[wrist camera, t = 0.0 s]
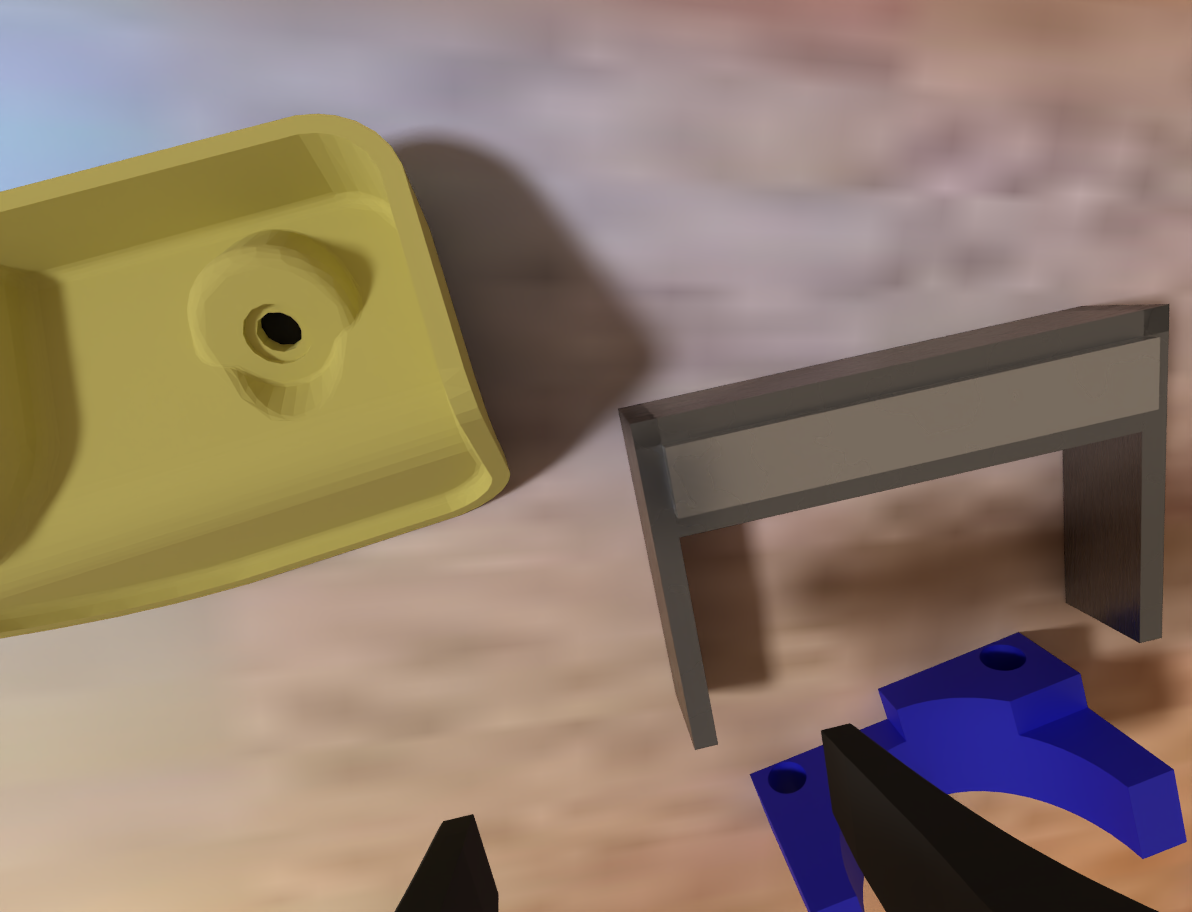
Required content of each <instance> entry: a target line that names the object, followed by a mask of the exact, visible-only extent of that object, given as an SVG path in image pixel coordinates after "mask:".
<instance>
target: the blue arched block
mask: <svg viewBox="0 0 1192 912" xmlns="http://www.w3.org/2000/svg"><path fill="white" fill-rule="evenodd" d="M878 691H879V694H880V697H881V700H882V703H883V706H884V709H885V712H886V715H887V719H886V720H883V721H881V722H878V723H876V724H874V725H871V726H869V727H866V728H864V729H861V730H860V731H861V732H863V733H864V734H865V735H867V736H868V737H869V738H871V739H872V740H873V741H875V742H876V743H877V744H878V745H880V746H881V747H882V748H884V749H885V750H886V751H888V752H889V753H890V754H892V755H893V756H894V757H896V758H897V759H898V760H900V761H901V762H902V763H904V764H905V765H907V766H908V767H909V768H911V769H912V770H913V771H915V772H916V773H918V774H919V775H920V776H922V777H923V778H924V779H926V780H927V781H929V782H930V783H932V784H933V785H935V786H936V787H937V788H939V789H940V790H942V791H943V792H945V793H946V794H951V793H957V792H967V791H991V792H1003V793H1010V794H1016V795H1020V796H1025V797H1030V798H1033V799H1037V800H1040V801H1043V802H1047V803H1049V804H1052V805H1055V806H1058V807H1060V808H1063V809H1065V810H1067V811H1070V812H1072V813H1074V814H1076V815H1078V816H1080V817H1082V818H1084V819H1086V820H1088V821H1090V822H1092V823H1093V824H1095V825H1097V826H1099V827H1100V828H1102V829H1103V830H1105V831H1107V832H1108V833H1110V834H1111V835H1113V836H1114V837H1116V838H1117V839H1118V840H1120V841H1121V842H1122V843H1124V844H1125V845H1127V846H1128V847H1129V848H1130V849H1131V850H1133V851H1134V852H1135V853H1136V854H1137V855H1139V856H1140V857H1141V858H1142V859H1144V858H1147V857H1150V856H1152V855H1155V854H1157V853H1160V852H1162V851H1165V850H1167V849H1170V848H1172V847H1175V846H1177V845H1180V844H1182V843H1185V842H1187V840H1186V835H1185V829H1184V824H1183V818H1182V813H1181V807H1180V801H1179V796H1178V790H1177V785H1176V779H1175V774H1174V769H1172V768H1171V767H1170V766H1168V765H1167V764H1165V763H1164V762H1163V761H1161V760H1160V759H1158V758H1157V757H1156V756H1154V755H1153V754H1152V753H1150V752H1149V751H1147V750H1146V749H1145V748H1143V747H1142V746H1140V745H1139V744H1138V743H1136V742H1135V741H1134V740H1132V739H1131V738H1129V737H1128V736H1127V735H1125V734H1124V733H1122V732H1121V731H1120V730H1118V729H1117V728H1116V727H1114V726H1113V725H1111V724H1110V723H1109V722H1107V721H1106V720H1104V719H1103V718H1102V717H1100V716H1099V715H1098V714H1096V713H1095V712H1093V711H1092V710H1091V709H1089V708H1088V706H1087V702H1086V697H1085V692H1084V688H1083V683H1082V679H1081V674H1080V673H1079V672H1077V671H1076V670H1074V669H1073V668H1071V667H1070V666H1068V665H1067V664H1065V663H1064V662H1062V661H1061V660H1059V659H1058V658H1056V657H1055V656H1053V655H1052V654H1050V653H1049V652H1047V651H1046V650H1044V649H1043V648H1041V647H1040V646H1039V645H1037V644H1036V643H1034V642H1033V641H1031V640H1030V639H1028V638H1027V637H1025V636H1024V635H1022V634H1021V633H1019V632H1018V633H1015V634H1013V635H1010V636H1008V637H1006V638H1003V639H1001V640H998V641H996V642H993V643H991V644H988V645H986V646H983V647H981V648H978V649H976V650H973V651H971V652H968V653H966V654H963V655H961V656H958V657H956V658H953V659H951V660H949V661H946V662H944V663H941V664H939V665H936V666H934V667H931V668H929V669H926V670H924V671H921V672H919V673H916V674H914V675H911V676H909V677H906V678H904V679H901V680H899V681H897V682H894V683H892V684H889V685H887V686H884V687H882V688H879V689H878ZM750 776H751V779H752V781H753V784H754V786H755V789H756V791H757V793H758V796H759V798H760V801H761V803H762V806H763V808H764V811H765V813H766V816H767V818H768V821H769V823H770V826H771V828H772V831H773V833H774V835H775V837H776V840H777V842H778V844H779V847H780V849H781V851H782V853H783V856H784V858H785V860H786V863H787V865H788V867H789V869H790V872H791V874H792V876H793V879H794V881H795V883H796V885H797V888H798V890H799V892H800V894H801V897H802V899H803V901H804V904H805V906H806V908H807V910H808V912H864V905H863V881H864V875H863V873H862V871H861V870H860V868H859V866H858V864H857V862H856V860H855V858H854V856H853V854H852V852H851V850H850V848H849V846H848V844H847V842H846V840H845V838H844V836H843V834H842V832H841V829H840V827H839V825H838V823H837V821H836V819H835V817H834V815H833V813H832V806H831V799H830V792H829V785H828V777H827V770H826V763H825V756H824V748H823V745H821V746H819V747H816V748H814V749H811V750H809V751H806V752H804V753H802V754H799V755H797V756H794V757H792V758H789V759H787V760H784V761H782V762H779V763H777V764H774V765H772V766H769V767H767V768H764V769H762V770H759V771H757V772H754V773H752V774H750Z"/></svg>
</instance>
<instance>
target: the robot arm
mask: <svg viewBox="0 0 1192 912" xmlns="http://www.w3.org/2000/svg"><path fill="white" fill-rule="evenodd" d="M821 734H822V741H823V748H824V756H825V763H826V770H827V777H828V785H829V792H830V799H831V806H832V813H833V815H834V817H835V819H836V821H837V823H838V825H839V827H840V829H841V832H842V834H843V836H844V838H845V840H846V842H847V844H848V846H849V848H850V850H851V852H852V854H853V856H854V858H855V860H856V862H857V864H858V866H859V868H860V870H861V871H862V873H863V875H864V876H865V878H866V880H867V881H868V883H869V884H870V886H871V888H872V889H873V891H874V893H875V894H876V896H877V898H878V899H879V901H880V903H881V904H882V906H883V907H884V909H885V911H886V912H1158V911H1156V910H1154V909H1152V908H1149V907H1147V906H1145V905H1143V904H1141V903H1139V902H1137V901H1135V900H1132V899H1130V898H1128V897H1126V896H1124V895H1122V894H1120V893H1118V892H1116V891H1114V890H1112V889H1110V888H1107V887H1105V886H1103V885H1101V884H1099V883H1097V882H1095V881H1093V880H1091V879H1089V878H1087V877H1085V876H1083V875H1081V874H1079V873H1077V872H1075V871H1074V870H1072V869H1070V868H1068V867H1066V866H1064V865H1062V864H1061V863H1059V862H1057V861H1055V860H1053V859H1051V858H1050V857H1048V856H1046V855H1044V854H1042V853H1041V852H1039V851H1037V850H1035V849H1033V848H1032V847H1030V846H1028V845H1026V844H1024V843H1023V842H1021V841H1019V840H1018V839H1016V838H1014V837H1013V836H1011V835H1009V834H1008V833H1006V832H1004V831H1003V830H1001V829H1000V828H998V827H996V826H995V825H993V824H992V823H990V822H988V821H987V820H985V819H984V818H982V817H981V816H979V815H977V814H976V813H974V812H973V811H971V810H970V809H968V808H967V807H965V806H964V805H962V804H961V803H959V802H958V801H956V800H955V799H953V798H952V797H950V796H949V795H948V794H946V793H945V792H943V791H942V790H940V789H939V788H937V787H936V786H935V785H933V784H932V783H930V782H929V781H927V780H926V779H924V778H923V777H922V776H920V775H919V774H918V773H916V772H915V771H913V770H912V769H911V768H909V767H908V766H907V765H905V764H904V763H902V762H901V761H900V760H898V759H897V758H896V757H894V756H893V755H892V754H890V753H889V752H888V751H886V750H885V749H884V748H882V747H881V746H880V745H878V744H877V743H876V742H875V741H873V740H872V739H871V738H869V737H868V736H867V735H865V734H864V733H863V732H861V731H860V730H859V729H857V728H856V727H855V726H853V725H852V724H845V725H841V726H837V727H833V728H829V729H825V730H821ZM395 912H498V891H497V888H496V885H495V882H494V878H493V875H492V872H491V869H490V866H489V863H488V859H487V856H486V853H485V850H484V847H483V843H482V840H481V837H480V834H479V831H478V828H477V824H476V821H475V818H474V815H473V814H472V815H468V816H463V817H459V818H455V819H451V820H447V821H443V823H442V824H441V826H440V827H439V829H438V831H437V833H436V835H435V837H434V839H433V841H432V843H431V845H430V846H429V848H428V850H427V852H426V854H425V856H424V858H423V860H422V862H421V864H420V866H419V868H418V870H417V872H416V873H415V875H414V877H413V879H412V881H411V883H410V885H409V887H408V888H407V890H406V892H405V894H404V896H403V898H402V899H401V901H400V903H399V905H398V907H397V908H396V910H395Z"/></svg>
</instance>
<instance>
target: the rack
mask: <svg viewBox="0 0 1192 912" xmlns="http://www.w3.org/2000/svg"><path fill="white" fill-rule="evenodd" d="M1168 337H1169V304H1155V305H1112V306H1080V307H1076V308H1071V309H1067V310H1062V311H1058V312H1053V313H1049V314H1044V315H1040V316H1035V317H1031V318H1026V319H1022V320H1017V321H1013V322H1008V323H1004V324H999V325H995V326H990V327H986V328H981V329H977V330H972V331H968V332H963V333H959V334H954V335H950V336H945V337H941V338H936V339H932V340H927V341H922V342H918V343H913V344H909V345H904V346H900V347H895V348H891V349H886V350H882V351H877V352H873V353H868V354H864V355H859V356H855V357H850V358H846V359H841V360H837V361H832V362H828V363H823V364H819V365H814V366H810V367H805V368H801V369H796V370H792V371H787V372H783V373H778V374H774V375H769V376H765V377H760V378H755V379H751V380H746V381H742V382H737V383H733V384H728V385H724V386H719V387H715V388H710V389H706V390H701V391H697V392H692V393H688V394H683V395H679V396H674V397H670V398H665V399H661V400H656V401H652V402H647V403H643V404H638V405H634V406H629V407H625V408H620V409H618V411H619V416H620V421H621V425H622V430H623V435H624V440H625V445H626V450H627V455H628V460H629V465H630V470H631V475H632V480H633V485H634V490H635V494H636V499H637V504H638V509H639V514H640V519H641V524H642V529H643V534H644V539H645V544H646V549H647V554H648V559H649V564H650V568H651V573H652V578H653V583H654V588H655V593H656V598H657V603H658V608H659V613H660V618H661V623H662V628H663V633H664V638H665V642H666V647H667V652H668V657H669V662H670V667H671V672H672V677H673V682H674V687H675V692H676V696H677V699H678V702H679V705H680V708H681V711H682V714H683V716H684V719H685V722H686V725H687V728H688V731H689V734H690V737H691V740H692V743H693V746H694V748H695V750H697V749H701V748H705V747H709V746H714V745H718V741H717V736H716V731H715V725H714V720H713V715H712V710H711V704H710V699H709V694H708V688H707V683H706V678H705V672H704V667H703V662H702V656H701V651H700V646H699V640H698V635H697V630H696V624H695V619H694V614H693V608H692V603H691V598H690V592H689V587H688V582H687V576H686V571H685V566H684V560H683V555H682V550H681V544H680V539H679V538H680V537H684V536H689V535H693V534H697V533H702V532H706V531H710V530H715V529H719V528H724V527H728V526H732V525H737V524H741V523H745V522H750V521H754V520H758V519H763V518H767V517H772V516H776V515H780V514H785V513H789V512H793V511H798V510H802V509H807V508H811V507H815V506H820V505H824V504H828V503H833V502H837V501H841V500H846V499H850V498H855V497H859V496H863V495H868V494H872V493H876V492H881V491H885V490H889V489H894V488H898V487H903V486H907V485H911V484H916V483H920V482H924V481H929V480H933V479H938V478H942V477H946V476H951V475H955V474H959V473H964V472H968V471H972V470H977V469H981V468H986V467H990V466H994V465H999V464H1003V463H1007V462H1012V461H1016V460H1020V459H1025V458H1029V457H1034V456H1038V455H1042V454H1047V453H1051V452H1055V451H1060V450H1063V482H1064V530H1065V579H1066V603H1067V604H1069V605H1071V606H1073V607H1075V608H1077V609H1078V610H1080V611H1082V612H1084V613H1086V614H1088V615H1089V616H1091V617H1093V618H1095V619H1097V620H1099V621H1100V622H1102V623H1104V624H1106V625H1108V626H1109V627H1111V628H1113V629H1115V630H1117V631H1119V632H1120V633H1122V634H1124V635H1126V636H1128V637H1130V638H1131V639H1133V640H1135V641H1137V642H1139V643H1142V642H1146V641H1151V640H1155V639H1159V638H1162V604H1163V559H1164V515H1165V470H1166V426H1167V382H1168Z"/></svg>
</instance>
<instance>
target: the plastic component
mask: <svg viewBox="0 0 1192 912" xmlns="http://www.w3.org/2000/svg"><path fill="white" fill-rule="evenodd" d="M275 312H281V313H283V314H286V315H288V316H291V317H292V318H293V319H294V320H295V321H296V322H297V323H298V325H299V327H300V328H301V335H302V339H301V340H299V341H298V342H296V343H295V344H279V343H277V342H275V341H273V340H271V339H269V338H268V336H267V335H266V333H265V332H264V330H263V329H262V325H261V319H262V317H263V316H264V315H266V314H267V313H275ZM509 477H510V471H509V468H508V464H507V461H506V458H505V455H504V452H503V450H502V448H501V446H500V444H499V442H498V440H497V437H496V435H495V432H494V430H493V427H492V425H491V422H490V420H489V417H488V414H487V411H486V409H485V406H484V403H483V400H482V397H481V394H480V391H479V388H478V385H477V382H476V379H475V376H474V372H473V369H472V366H471V362H470V359H469V356H468V353H467V349H466V346H465V343H464V340H463V336H462V333H461V330H460V326H459V323H458V320H457V317H456V313H455V310H454V307H453V304H452V300H451V297H450V294H449V290H448V287H447V284H446V281H445V277H444V274H443V271H442V268H441V264H440V261H439V258H438V254H437V251H436V248H435V245H434V241H433V238H432V235H431V232H430V229H429V226H428V224H427V222H426V219H425V217H424V215H423V212H422V210H421V208H420V205H419V203H418V200H417V198H416V196H415V193H414V191H413V189H412V186H411V184H410V182H409V179H408V177H407V175H406V172H405V170H404V168H403V165H402V163H401V162H400V160H399V158H398V157H397V155H396V153H395V152H394V150H393V148H392V147H391V146H390V145H389V144H388V143H387V142H386V141H385V140H384V139H383V138H382V137H381V136H380V135H378V134H377V133H376V132H375V131H373V130H371V129H370V128H368V127H366V126H364V125H362V124H360V123H359V122H357V121H354V120H350V119H347V118H343V117H340V116H336V115H326V114H308V115H295V116H291V117H287V118H284V119H280V120H276V121H272V122H268V123H264V124H260V125H257V126H253V127H249V128H245V129H241V130H237V131H233V132H230V133H226V134H222V135H218V136H214V137H210V138H206V139H203V140H199V141H195V142H191V143H187V144H183V145H179V146H176V147H172V148H168V149H164V150H160V151H156V152H152V153H149V154H145V155H141V156H137V157H133V158H129V159H125V160H122V161H118V162H114V163H110V164H106V165H102V166H98V167H95V168H91V169H87V170H83V171H79V172H75V173H71V174H68V175H64V176H60V177H56V178H52V179H48V180H44V181H41V182H37V183H33V184H29V185H25V186H21V187H17V188H14V189H10V190H6V191H2V192H0V638H6V637H12V636H17V635H23V634H29V633H35V632H41V631H47V630H53V629H58V628H63V627H68V626H73V625H78V624H83V623H89V622H94V621H99V620H104V619H109V618H114V617H119V616H123V615H128V614H132V613H136V612H141V611H145V610H150V609H154V608H158V607H163V606H167V605H171V604H175V603H179V602H183V601H187V600H191V599H195V598H199V597H203V596H206V595H210V594H214V593H217V592H221V591H224V590H228V589H232V588H235V587H239V586H243V585H246V584H249V583H253V582H256V581H259V580H262V579H265V578H268V577H271V576H274V575H277V574H280V573H283V572H287V571H290V570H293V569H296V568H299V567H302V566H305V565H308V564H311V563H314V562H317V561H320V560H324V559H327V558H330V557H333V556H336V555H339V554H342V553H345V552H348V551H351V550H354V549H357V548H361V547H364V546H367V545H370V544H373V543H376V542H379V541H382V540H385V539H388V538H391V537H395V536H398V535H401V534H404V533H407V532H410V531H413V530H416V529H419V528H422V527H425V526H428V525H432V524H435V523H438V522H441V521H444V520H447V519H450V518H453V517H456V516H459V515H462V514H464V513H466V512H469V511H471V510H473V509H475V508H477V507H479V506H481V505H483V504H484V503H486V502H488V501H489V500H491V499H492V498H494V497H495V496H496V495H497V494H498V493H500V492H501V491H502V490H503V489H504V487H505V486H506V484H507V483H508V482H509Z"/></svg>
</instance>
